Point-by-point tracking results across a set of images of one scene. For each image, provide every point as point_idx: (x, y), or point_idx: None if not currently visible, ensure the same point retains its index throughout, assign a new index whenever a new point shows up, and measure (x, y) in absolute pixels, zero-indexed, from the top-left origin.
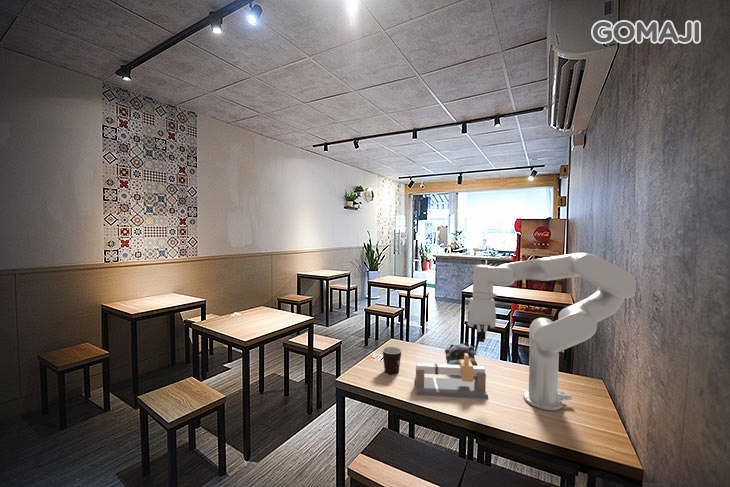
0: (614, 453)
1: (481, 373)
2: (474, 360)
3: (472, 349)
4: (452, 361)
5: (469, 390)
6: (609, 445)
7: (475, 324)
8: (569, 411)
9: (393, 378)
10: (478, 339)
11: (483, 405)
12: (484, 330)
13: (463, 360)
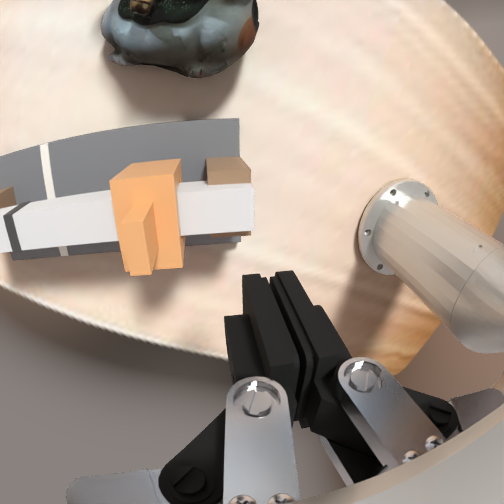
0: (395, 362)
1: (230, 232)
2: (243, 22)
3: None
4: (119, 25)
5: None
6: (404, 348)
7: (225, 484)
8: None
9: None
10: (244, 303)
11: (212, 279)
12: (332, 437)
13: (131, 191)
